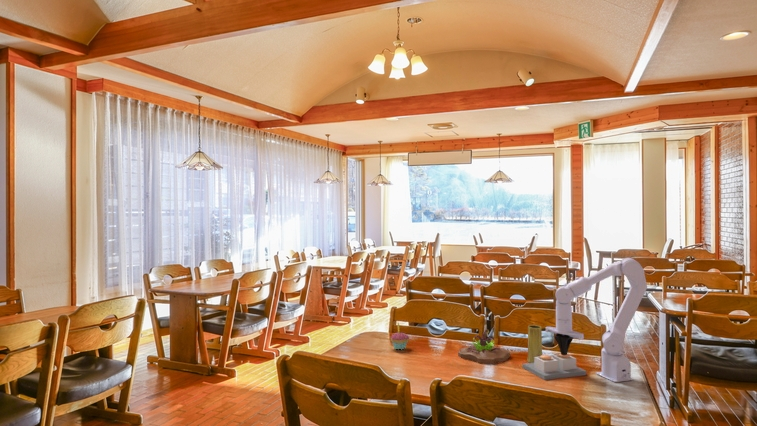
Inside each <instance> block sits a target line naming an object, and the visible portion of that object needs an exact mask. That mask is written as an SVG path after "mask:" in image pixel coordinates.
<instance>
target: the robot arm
mask: <svg viewBox="0 0 757 426" xmlns="http://www.w3.org/2000/svg"><path fill="white" fill-rule="evenodd" d="M622 275H624V276H625V277H626V280H628V283H629V285H630V286H629V288H628V291H627V293H626V296H625V297H624V300H623V302H622V304H621V306H620V307H619V310H618V312H617V314H616V316H615V318H614V321H613V322H612V323H611V325H610V326H609V327H608V330H607V331H605V332H604V333H603V334H602V335H601V342H602V345H603V347H602V348H601V352H600V353H601V355H600V356H601V357H600V358H601V371H597V372H595V374H596V375H598V376H600V377H603V378H605V379H607V380H609V381H611V382H612V383H613V382H614V383H619V382H628V381H633V380H634V379H633V378H632V376H631V375H632V374H631V371H632V369H631V361H630V359H629V358H628V357H626V356H625V354H624V350H623V349H624V344H623V343H624V340H625V339H626V337H625V336H626V332H627V330H628V329H629V326H630V324H631V322H632V320H633V318H634V316H635V313H636V311H637V310H638V308H639V305H640V303H641V301H642V299H643V297H644V295H645V293H646V291H647V289H648V284H647V280H646V275H645V269H644V268H643V267H642V265H641V264H640V262H639V261H637V260H635V259H634V258H632V257H624V258H622V259H621V260H618V261H614V262H612V263H610V264H608V265H607V266H605V267H603V268H601V269H599V270H598V271H596V272H595V273H593V274H591V275H590V276H588V277H585V276H577V277H575V278H574V280H572V281H570V282H569V283H564V284H563V286H560V287H558V288H557V289H556V291H555V293H554V294H555V296H554V297H555V299H556V301H555V327H553V326H546V327H545V333H550V334H555V335H554V339H555V341H556V342H557V345H558V348H559V350H560V351H559V352H560V353H561V355H567V354H569V349H570V345H571V343H572V341H573V339H578V340H584V339H585V338H584V333H583V332H582V333H581V332H578V331H575V330H573V307H572V300H573V298H574V299H576V298H577V297H579V296H583V295H584V294H586V293H587V292H589V291H591V290H592V286H593V285H595V284H597V283H600V282H603V281H604V280H605V279H608V278H610V277H612V276H614V277H615V276H616V277H617V276H618V277H622Z"/></svg>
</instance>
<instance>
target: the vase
mask: <svg viewBox="0 0 757 426" xmlns="http://www.w3.org/2000/svg"><path fill="white" fill-rule="evenodd" d="M542 328H543V327H542V326H541V325H537V324H530V325H528V326H527V360H526V361H527V363H534V357H540V356H541V355H543V337H542V335H543V334H542V333H543V332H542Z"/></svg>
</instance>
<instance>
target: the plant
mask: <svg viewBox="0 0 757 426" xmlns="http://www.w3.org/2000/svg"><path fill="white" fill-rule="evenodd" d="M489 333H490V331H489V329H484V331H483V333H482V337H481V336H480V335H475V336H474V337H473V338H472V341H473V342H471V344H472V345H471V344H470V345H469V346H465V347H463V348H459V350H458V352H457V355H458V358H460V357H461V358H460V359H463V360H467V359H469V360H468V361H471V360H473V361H472V362H475V361H476V362H475V363H477V362H478V364H483V363H484V364H483V365H495V364H498V362H502V363H504V362H505V361H507V360H508V358H509V357H510V358H511V352H510V350H509V351H508V350H507V349H505V348H503V347H498V346H496V345H495V339H494V338H492V337H487V338H486V334H489ZM477 338H479V340H478V341H477ZM488 340H490V342H489V343H488ZM510 358H509V359H510ZM506 359H507V360H506ZM503 361H504V362H503Z"/></svg>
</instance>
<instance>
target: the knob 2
mask: <svg viewBox="0 0 757 426" xmlns="http://www.w3.org/2000/svg"><path fill="white" fill-rule="evenodd" d="M558 355H559V356H560V358H562V359H569V357H570V356H571V355H570V354H569V353H567V355H561V352H560V353H558Z"/></svg>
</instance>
